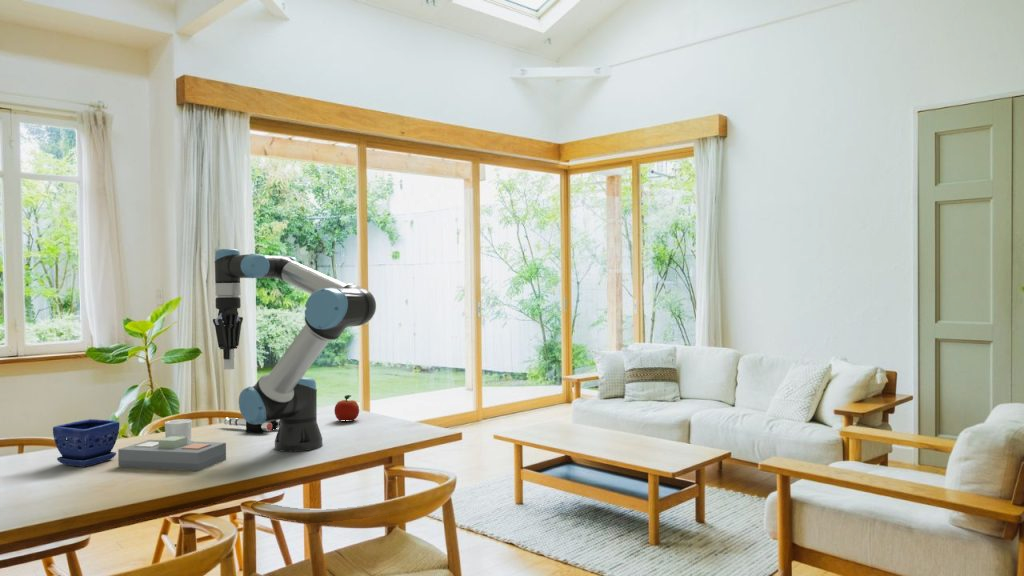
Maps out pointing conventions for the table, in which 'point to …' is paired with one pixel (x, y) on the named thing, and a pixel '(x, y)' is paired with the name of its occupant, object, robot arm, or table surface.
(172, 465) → the key panel
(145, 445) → the key offwhite
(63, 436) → the flower pot
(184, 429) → the white cup
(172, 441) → the key sage
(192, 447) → the key terracotta
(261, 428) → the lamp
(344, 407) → the fruit
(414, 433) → the table surface
